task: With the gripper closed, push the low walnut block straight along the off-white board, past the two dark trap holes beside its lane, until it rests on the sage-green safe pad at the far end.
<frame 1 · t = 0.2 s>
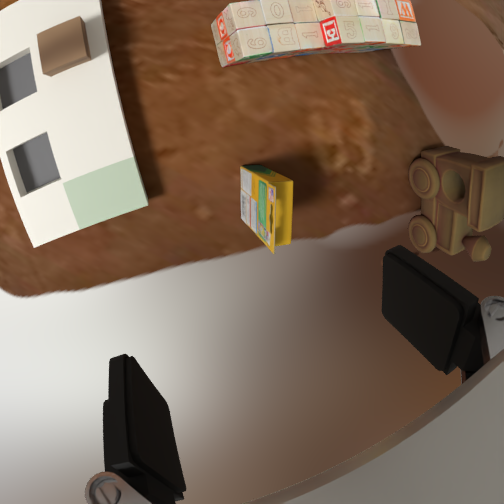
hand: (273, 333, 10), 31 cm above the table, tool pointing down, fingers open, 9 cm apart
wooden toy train: (424, 192, 51), on the table
trap board: (54, 104, 28), on the table
stack of blocks: (293, 35, 33), on the table
walnut block: (67, 49, 24), point 2 cm above the table, touching trap board
crayon box: (250, 191, 41), on the table
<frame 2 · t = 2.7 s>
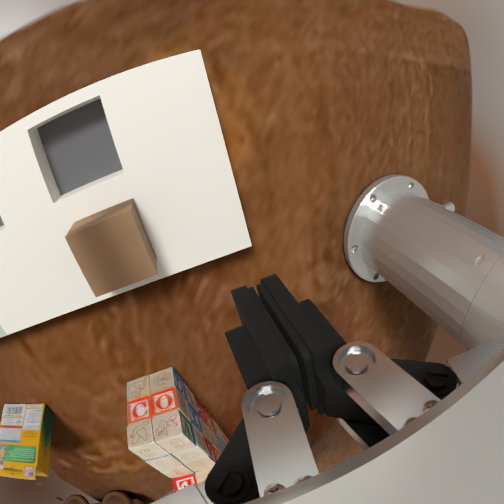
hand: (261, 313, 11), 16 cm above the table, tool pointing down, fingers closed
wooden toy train: (109, 498, 44), on the table
trap board: (47, 214, 22), on the table
stack of blocks: (186, 418, 37), on the table
walnut block: (115, 239, 22), point 2 cm above the table, touching trap board
crayon box: (29, 408, 29), on the table
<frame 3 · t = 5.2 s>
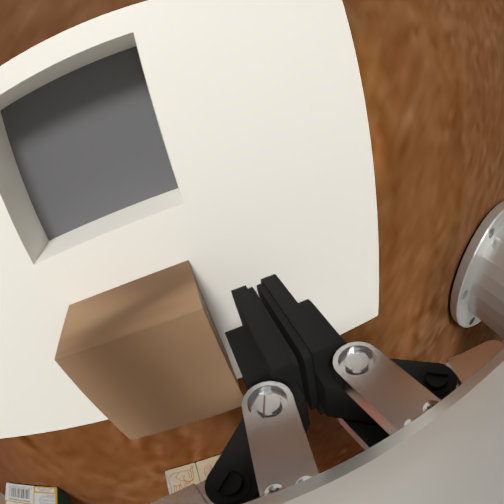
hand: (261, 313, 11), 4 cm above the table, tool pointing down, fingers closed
trap board: (27, 272, 11), on the table
stack of blocks: (233, 489, 27), on the table
walnut block: (152, 333, 12), point 3 cm above the table, touching gripper
crayon box: (37, 488, 19), on the table
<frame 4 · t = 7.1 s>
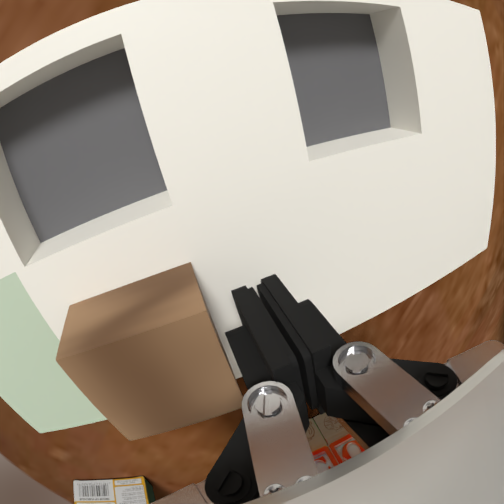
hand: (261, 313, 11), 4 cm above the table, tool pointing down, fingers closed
trap board: (243, 186, 13), on the table
stack of blocks: (321, 454, 29), on the table
walnut block: (152, 334, 12), point 3 cm above the table, touching gripper
crayon box: (112, 482, 21), on the table
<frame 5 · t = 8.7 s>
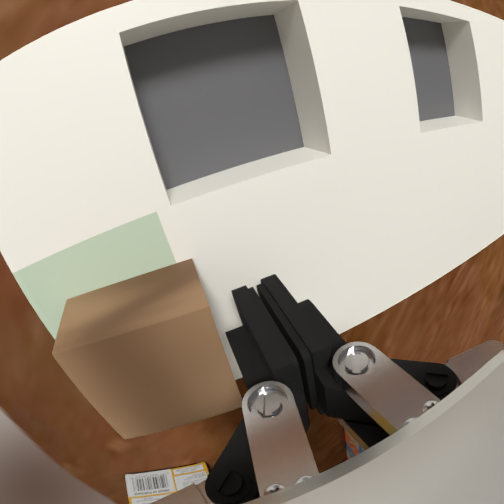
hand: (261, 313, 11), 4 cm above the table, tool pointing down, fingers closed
trap board: (357, 152, 14), on the table
walnut block: (150, 331, 12), point 2 cm above the table, touching gripper, trap board
crayon box: (167, 472, 21), on the table
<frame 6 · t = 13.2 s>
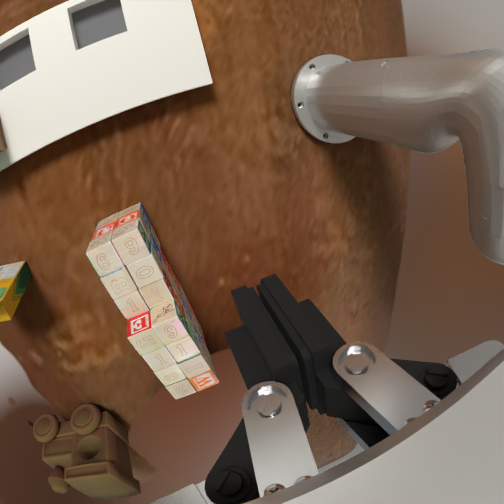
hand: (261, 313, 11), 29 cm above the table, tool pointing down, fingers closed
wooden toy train: (80, 420, 49), on the table
trap board: (66, 68, 26), on the table
stack of blocks: (152, 278, 42), on the table
crayon box: (9, 273, 34), on the table
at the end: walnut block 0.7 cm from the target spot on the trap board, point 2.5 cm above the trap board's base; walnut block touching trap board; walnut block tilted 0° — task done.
